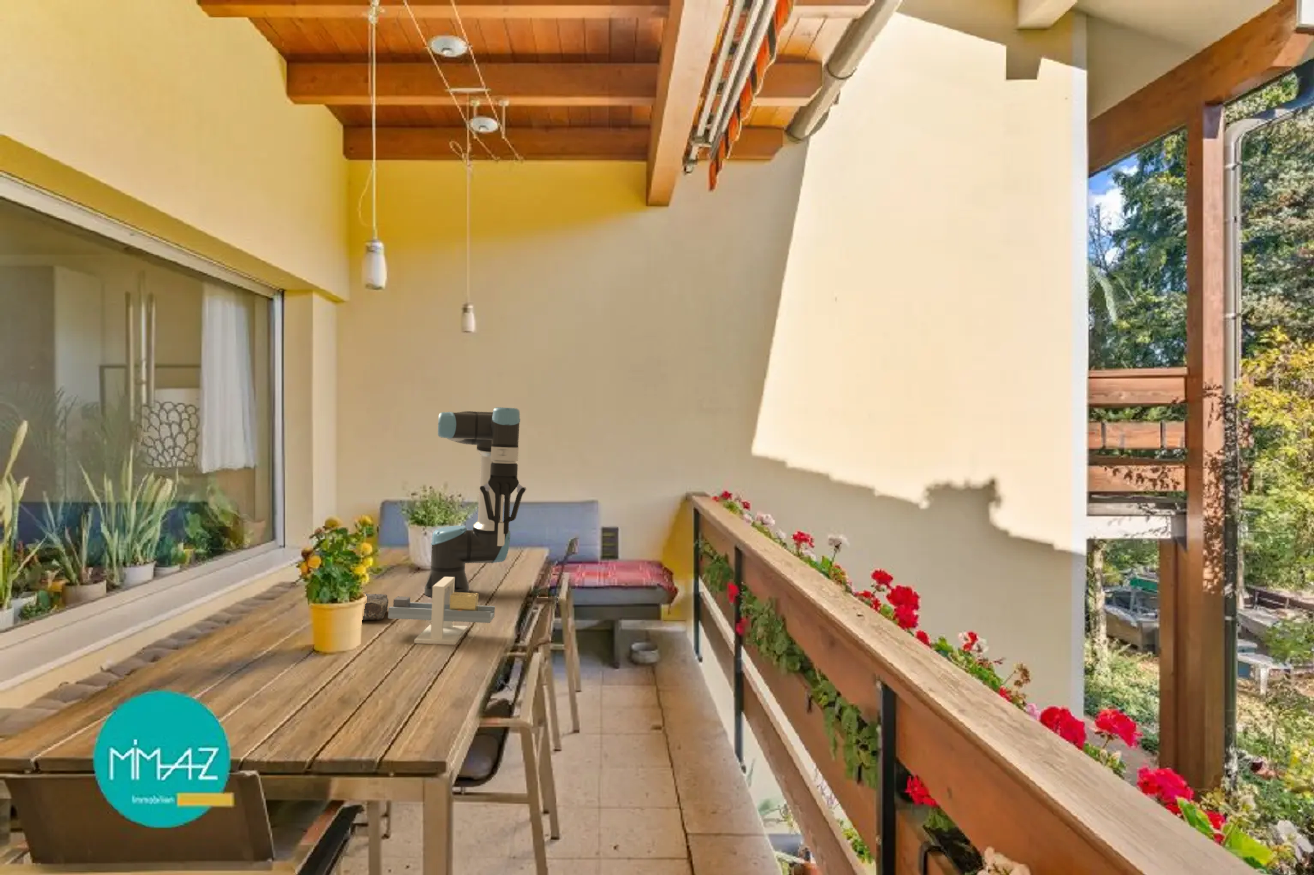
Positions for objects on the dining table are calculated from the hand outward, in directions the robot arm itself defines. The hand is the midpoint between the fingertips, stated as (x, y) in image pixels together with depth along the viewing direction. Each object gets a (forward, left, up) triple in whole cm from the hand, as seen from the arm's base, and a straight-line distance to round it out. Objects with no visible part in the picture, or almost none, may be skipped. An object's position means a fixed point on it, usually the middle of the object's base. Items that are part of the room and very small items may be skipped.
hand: (500, 545), depth 194 cm
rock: (-17, -43, -27) cm, 53 cm away
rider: (0, -10, -20) cm, 22 cm away
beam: (0, -16, -21) cm, 26 cm away
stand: (0, -16, -26) cm, 31 cm away
